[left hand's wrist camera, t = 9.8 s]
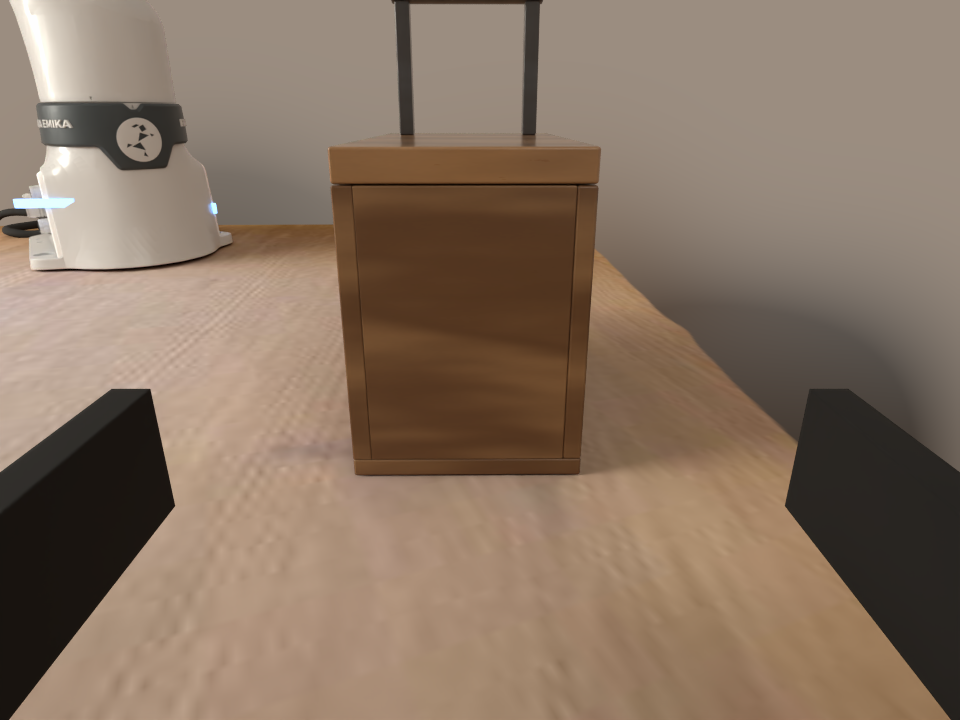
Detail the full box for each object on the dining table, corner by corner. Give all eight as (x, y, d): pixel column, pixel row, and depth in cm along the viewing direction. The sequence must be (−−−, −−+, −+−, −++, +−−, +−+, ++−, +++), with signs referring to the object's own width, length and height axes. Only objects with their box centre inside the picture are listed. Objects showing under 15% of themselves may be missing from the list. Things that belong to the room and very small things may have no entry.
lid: (390, 155, 36) (381, -33, 32) (546, 155, 36) (553, -33, 32) (329, 184, 21) (300, -160, 17) (599, 184, 21) (622, -160, 17)
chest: (398, 342, 39) (389, 156, 35) (540, 341, 39) (547, 156, 35) (354, 475, 25) (329, 185, 21) (579, 474, 25) (598, 185, 21)
